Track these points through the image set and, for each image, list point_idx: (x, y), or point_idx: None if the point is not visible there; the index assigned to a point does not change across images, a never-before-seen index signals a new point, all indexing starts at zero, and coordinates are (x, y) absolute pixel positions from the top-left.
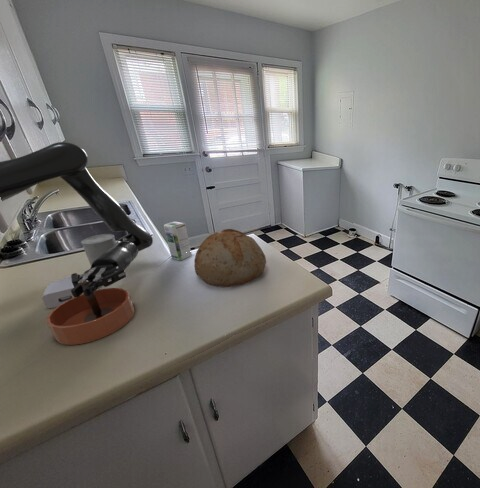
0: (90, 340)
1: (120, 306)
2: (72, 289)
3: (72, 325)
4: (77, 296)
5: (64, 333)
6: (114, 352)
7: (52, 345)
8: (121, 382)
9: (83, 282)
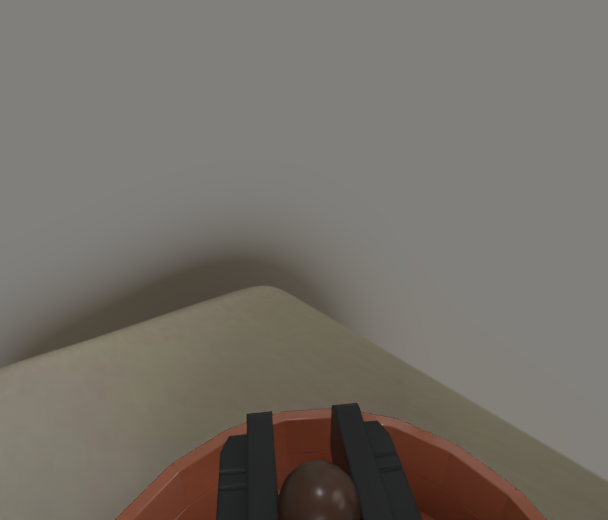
0: None
1: None
2: (387, 443)
3: (299, 418)
4: (331, 450)
5: None
6: (134, 430)
7: None
8: (93, 341)
9: (311, 464)
